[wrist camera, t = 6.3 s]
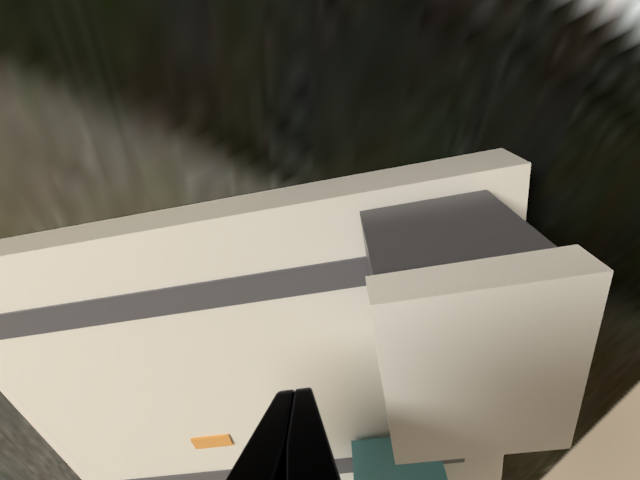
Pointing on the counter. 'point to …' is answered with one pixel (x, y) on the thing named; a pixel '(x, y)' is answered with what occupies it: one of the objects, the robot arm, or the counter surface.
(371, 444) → the teal knob
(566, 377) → the grey and white slider
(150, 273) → the slotted slider plate
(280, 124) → the counter surface
